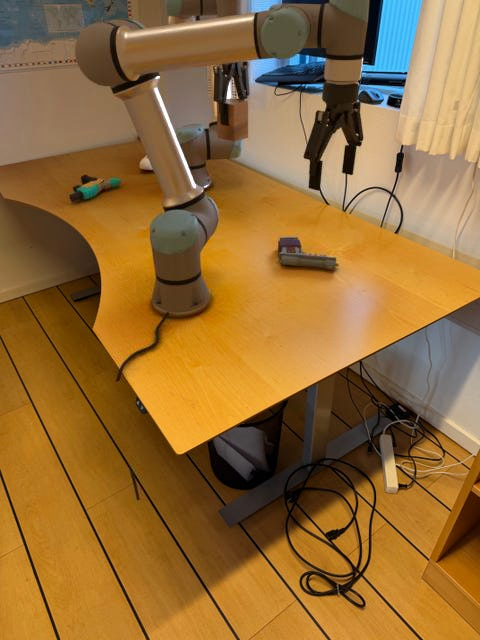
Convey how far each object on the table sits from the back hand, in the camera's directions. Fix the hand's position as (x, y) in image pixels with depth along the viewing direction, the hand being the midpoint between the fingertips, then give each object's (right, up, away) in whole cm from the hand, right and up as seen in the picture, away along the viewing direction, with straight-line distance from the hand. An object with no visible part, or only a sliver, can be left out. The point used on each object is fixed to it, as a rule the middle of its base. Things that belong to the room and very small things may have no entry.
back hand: (232, 122), depth 154 cm
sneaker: (-35, +7, +63) cm, 73 cm away
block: (0, -4, +3) cm, 5 cm away
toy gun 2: (+23, -46, -11) cm, 52 cm away
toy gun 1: (-58, -14, +35) cm, 69 cm away
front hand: (+24, -32, -43) cm, 59 cm away
